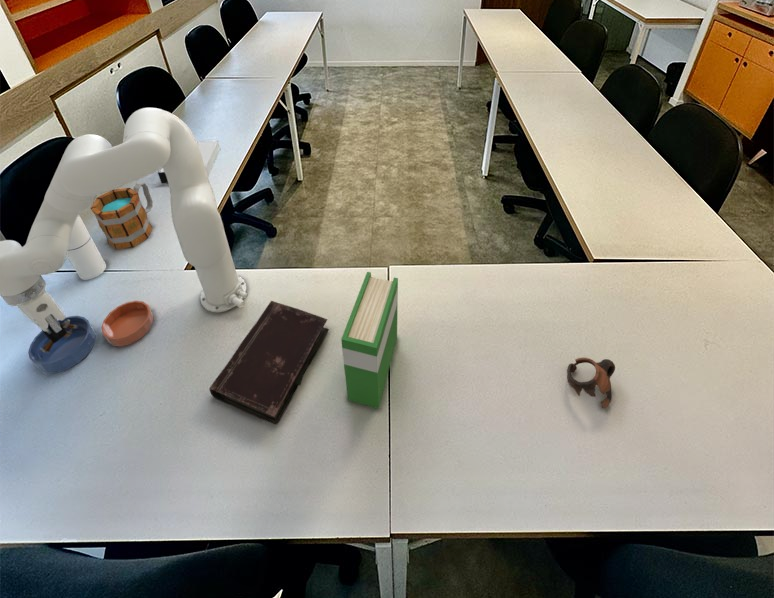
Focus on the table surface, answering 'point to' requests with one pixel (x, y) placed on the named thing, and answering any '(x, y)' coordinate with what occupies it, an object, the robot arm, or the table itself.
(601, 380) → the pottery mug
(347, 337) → the hardback book
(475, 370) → the table surface
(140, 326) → the shallow terracotta dish
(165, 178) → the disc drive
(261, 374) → the diary
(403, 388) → the table surface
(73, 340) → the bowl
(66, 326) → the wooden post with brackets
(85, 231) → the cylindrical container
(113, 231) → the mug
